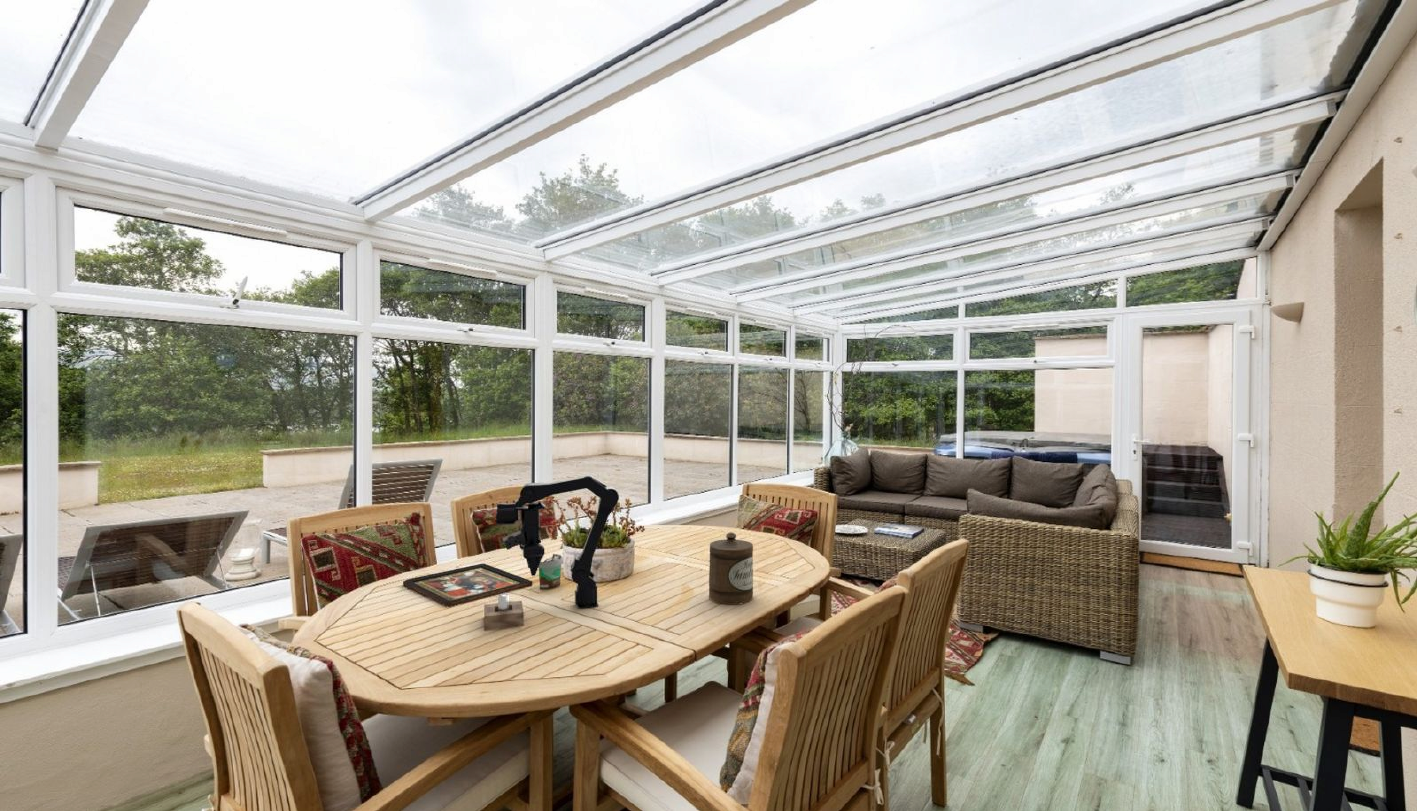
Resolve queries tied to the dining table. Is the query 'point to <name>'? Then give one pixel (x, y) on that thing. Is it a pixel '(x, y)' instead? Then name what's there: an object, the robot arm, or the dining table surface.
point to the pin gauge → (503, 602)
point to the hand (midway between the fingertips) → (531, 571)
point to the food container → (550, 572)
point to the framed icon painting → (466, 584)
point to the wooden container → (731, 571)
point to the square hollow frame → (503, 616)
